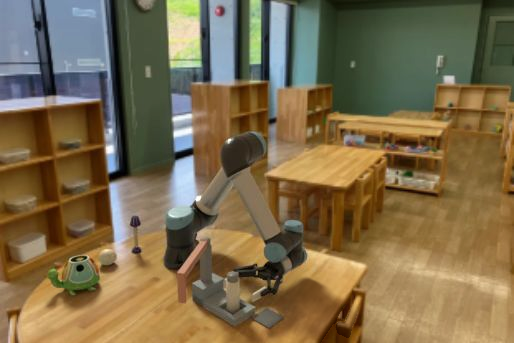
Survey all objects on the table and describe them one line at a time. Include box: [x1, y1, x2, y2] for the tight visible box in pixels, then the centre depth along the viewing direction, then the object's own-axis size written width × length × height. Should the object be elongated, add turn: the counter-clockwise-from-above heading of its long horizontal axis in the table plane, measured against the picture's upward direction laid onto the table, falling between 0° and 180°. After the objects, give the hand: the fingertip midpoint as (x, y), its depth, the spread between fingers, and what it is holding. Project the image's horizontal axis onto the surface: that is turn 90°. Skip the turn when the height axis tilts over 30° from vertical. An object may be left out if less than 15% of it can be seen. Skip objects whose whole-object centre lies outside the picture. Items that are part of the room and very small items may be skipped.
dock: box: [191, 245, 256, 327], centre depth 146 cm, size 22×10×21 cm, turn 48°
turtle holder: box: [46, 254, 101, 296], centre depth 158 cm, size 12×18×12 cm
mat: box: [250, 307, 285, 330], centre depth 143 cm, size 8×8×1 cm
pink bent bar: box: [176, 236, 212, 304], centre depth 139 cm, size 26×4×10 cm, turn 169°
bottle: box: [225, 271, 241, 315], centre depth 144 cm, size 5×5×15 cm
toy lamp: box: [129, 215, 142, 254], centre depth 186 cm, size 5×5×17 cm
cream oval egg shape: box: [98, 248, 118, 267], centre depth 176 cm, size 7×7×7 cm
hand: (238, 290), depth 145 cm, fingers open, 13 cm apart
